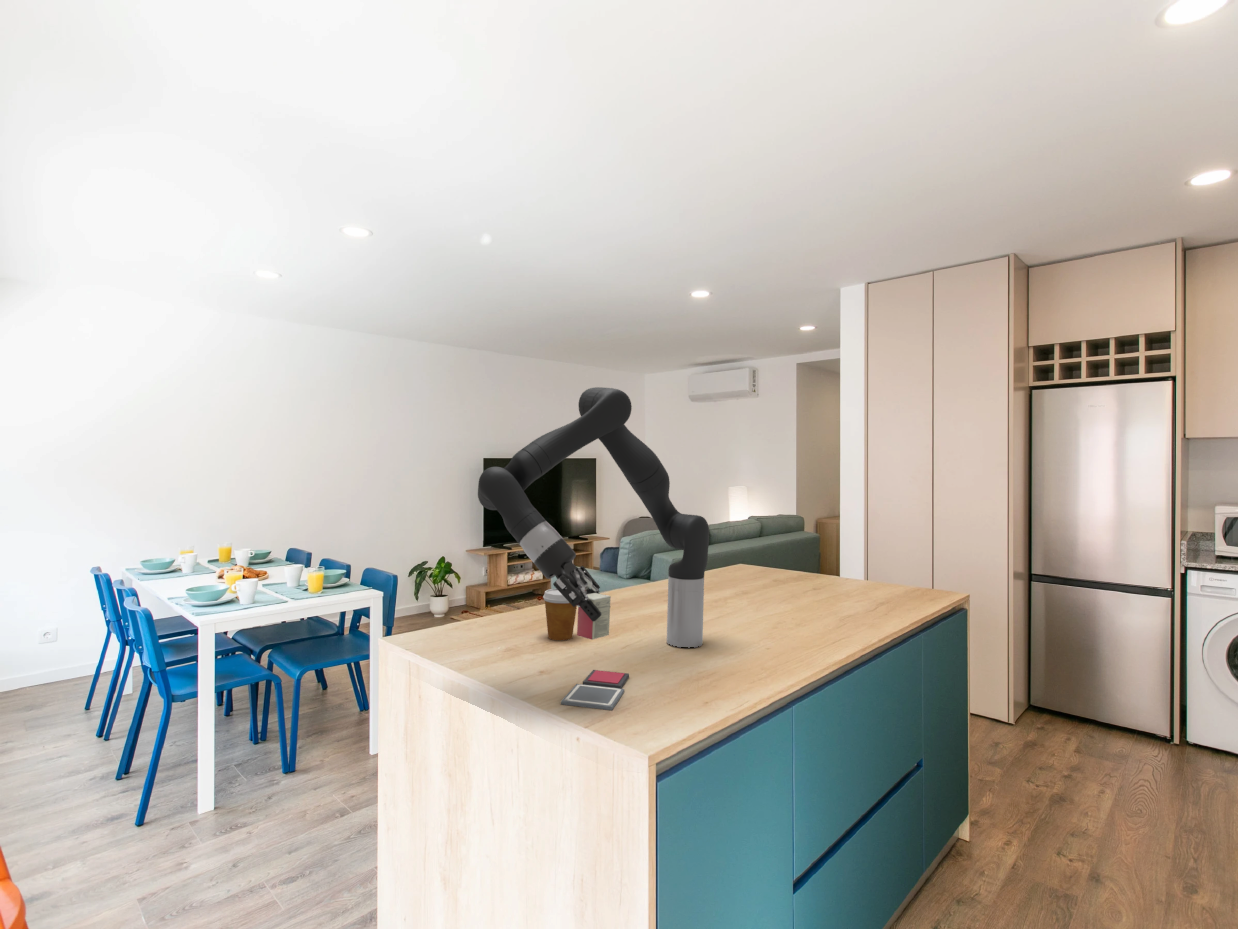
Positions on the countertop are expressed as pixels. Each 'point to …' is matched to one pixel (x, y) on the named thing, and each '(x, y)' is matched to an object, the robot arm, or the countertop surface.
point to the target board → (593, 696)
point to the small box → (599, 626)
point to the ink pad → (606, 679)
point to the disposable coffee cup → (559, 615)
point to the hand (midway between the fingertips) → (602, 614)
